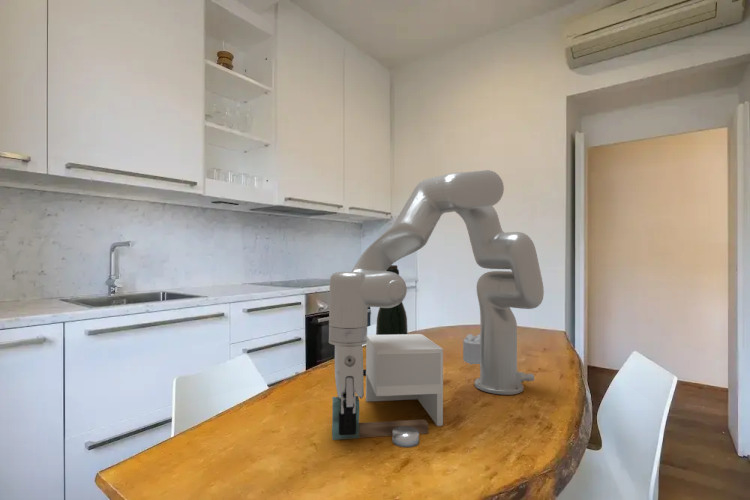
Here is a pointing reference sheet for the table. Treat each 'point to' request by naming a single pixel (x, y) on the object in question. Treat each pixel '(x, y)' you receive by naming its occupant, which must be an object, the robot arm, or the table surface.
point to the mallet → (371, 424)
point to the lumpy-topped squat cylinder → (471, 349)
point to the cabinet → (405, 371)
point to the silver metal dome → (405, 436)
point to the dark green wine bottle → (392, 316)
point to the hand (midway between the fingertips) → (346, 429)
